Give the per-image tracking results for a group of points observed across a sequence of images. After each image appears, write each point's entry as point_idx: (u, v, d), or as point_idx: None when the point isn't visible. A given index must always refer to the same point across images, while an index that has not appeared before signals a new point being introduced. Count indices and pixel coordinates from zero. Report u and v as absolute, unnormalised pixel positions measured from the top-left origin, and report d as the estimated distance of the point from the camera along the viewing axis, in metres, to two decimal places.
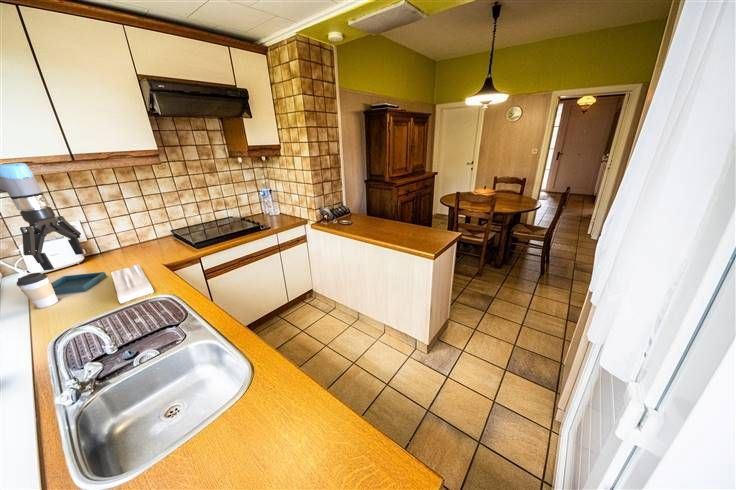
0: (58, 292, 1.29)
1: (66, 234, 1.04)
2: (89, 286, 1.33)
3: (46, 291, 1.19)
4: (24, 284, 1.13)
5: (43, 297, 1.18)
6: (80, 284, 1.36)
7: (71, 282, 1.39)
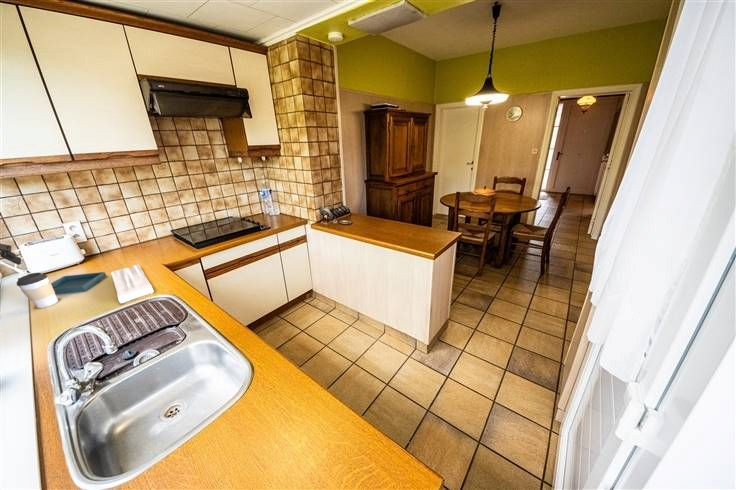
0: (58, 292, 1.29)
1: None
2: (89, 286, 1.33)
3: (46, 291, 1.19)
4: (24, 284, 1.13)
5: (43, 297, 1.18)
6: (80, 284, 1.36)
7: (71, 282, 1.39)
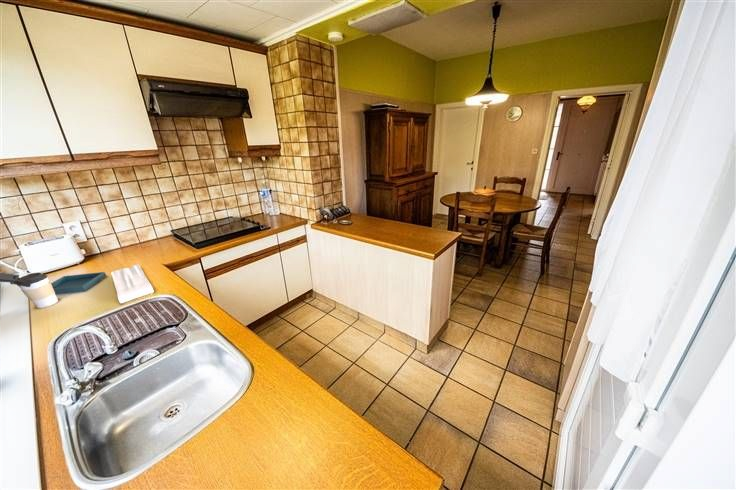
0: (58, 292, 1.29)
1: None
2: (89, 286, 1.33)
3: (46, 291, 1.19)
4: None
5: (43, 297, 1.18)
6: (80, 284, 1.36)
7: (71, 282, 1.39)
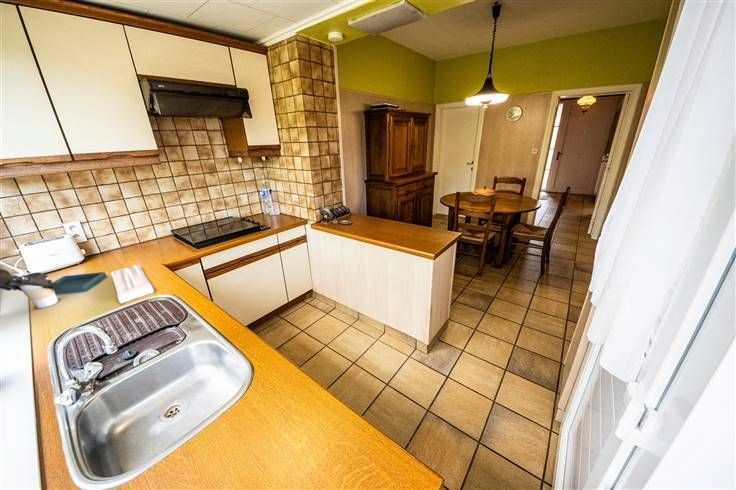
0: (58, 292, 1.29)
1: None
2: (89, 286, 1.33)
3: (46, 291, 1.19)
4: None
5: (43, 297, 1.18)
6: (80, 284, 1.36)
7: (71, 282, 1.39)
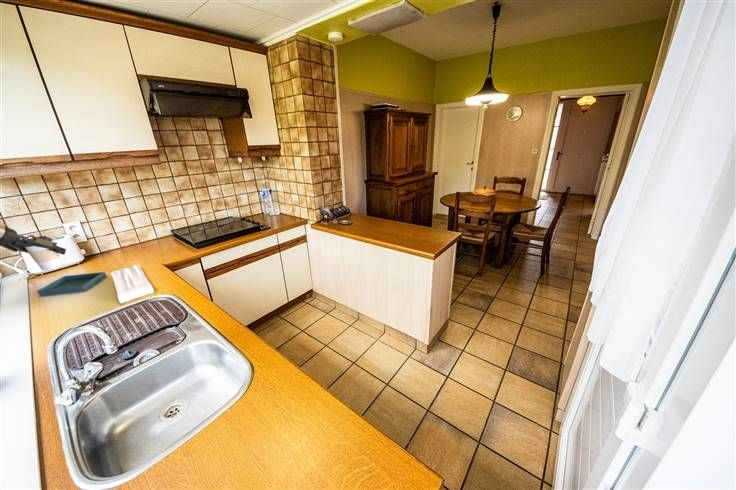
0: (58, 292, 1.29)
1: None
2: (89, 286, 1.33)
3: (51, 254, 1.23)
4: (30, 245, 1.17)
5: (48, 259, 1.22)
6: (80, 284, 1.36)
7: (71, 282, 1.39)
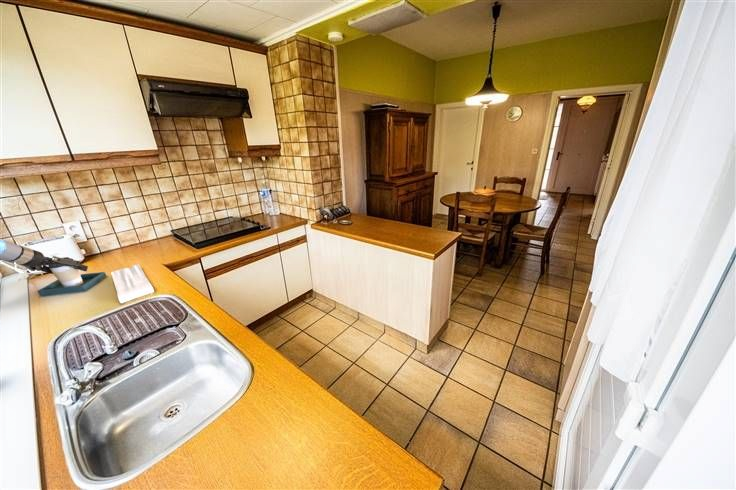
0: (58, 292, 1.29)
1: None
2: (89, 286, 1.33)
3: (74, 274, 1.32)
4: (55, 267, 1.27)
5: (71, 279, 1.32)
6: None
7: None
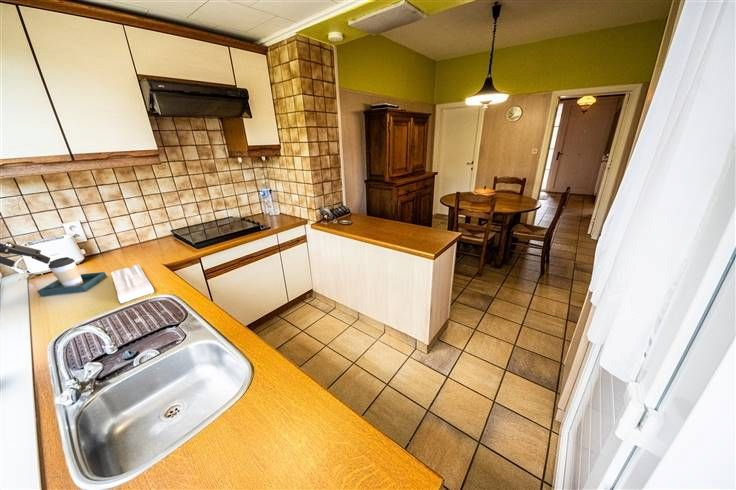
0: (58, 292, 1.29)
1: None
2: (89, 286, 1.33)
3: (74, 274, 1.32)
4: (55, 267, 1.27)
5: (71, 279, 1.32)
6: None
7: None
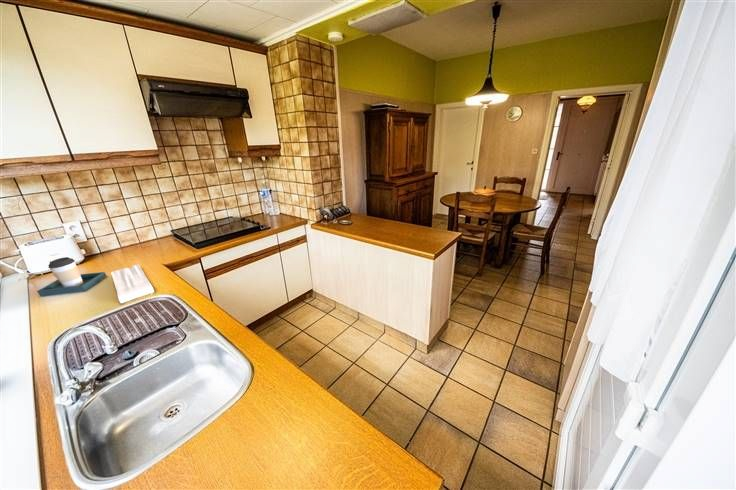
0: (58, 292, 1.29)
1: None
2: (89, 286, 1.33)
3: (74, 274, 1.32)
4: (55, 267, 1.27)
5: (71, 279, 1.32)
6: None
7: None
